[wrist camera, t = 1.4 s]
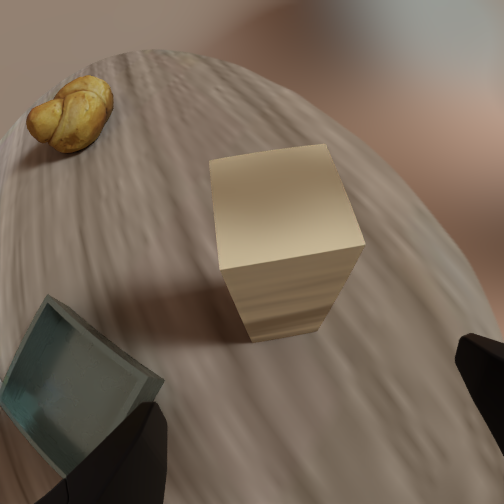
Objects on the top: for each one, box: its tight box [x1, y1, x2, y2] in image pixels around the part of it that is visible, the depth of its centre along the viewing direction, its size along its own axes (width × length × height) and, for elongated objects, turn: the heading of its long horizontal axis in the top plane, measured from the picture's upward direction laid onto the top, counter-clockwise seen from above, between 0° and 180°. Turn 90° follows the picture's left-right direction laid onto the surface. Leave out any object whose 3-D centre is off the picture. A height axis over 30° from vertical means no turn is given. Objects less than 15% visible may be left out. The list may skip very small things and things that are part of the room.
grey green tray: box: [0, 294, 165, 479], centre depth 17 cm, size 11×11×3 cm
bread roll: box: [26, 75, 113, 153], centre depth 30 cm, size 13×10×8 cm
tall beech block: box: [209, 144, 366, 343], centre depth 16 cm, size 4×4×12 cm
